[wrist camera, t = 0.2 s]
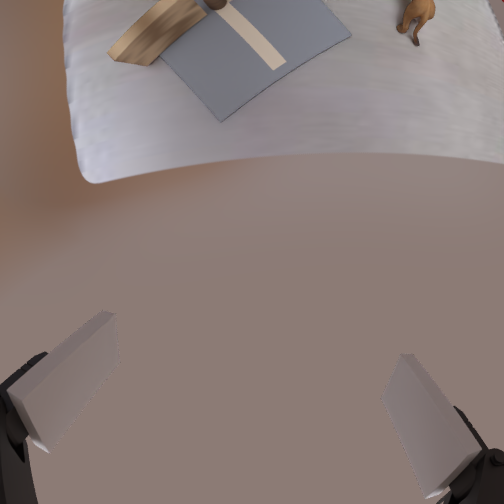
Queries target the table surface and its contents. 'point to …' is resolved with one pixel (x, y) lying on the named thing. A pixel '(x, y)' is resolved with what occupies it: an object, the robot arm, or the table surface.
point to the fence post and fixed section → (215, 4)
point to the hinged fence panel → (156, 31)
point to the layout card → (250, 48)
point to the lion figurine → (417, 16)
